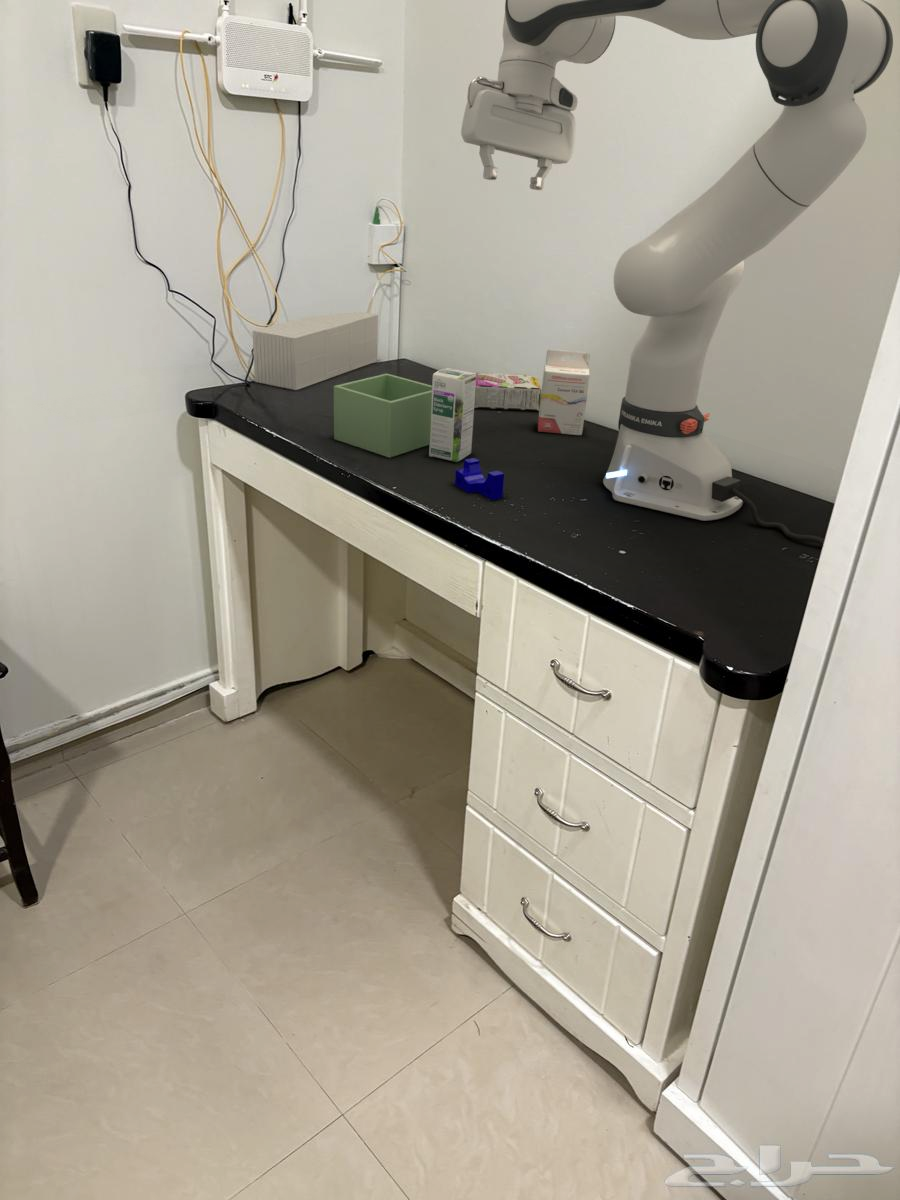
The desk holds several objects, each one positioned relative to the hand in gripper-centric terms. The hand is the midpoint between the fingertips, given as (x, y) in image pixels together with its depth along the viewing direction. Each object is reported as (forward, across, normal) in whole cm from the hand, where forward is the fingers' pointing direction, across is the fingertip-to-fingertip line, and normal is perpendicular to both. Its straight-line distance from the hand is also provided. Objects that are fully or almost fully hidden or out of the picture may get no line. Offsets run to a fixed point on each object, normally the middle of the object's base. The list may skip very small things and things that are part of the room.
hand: (513, 184), depth 150 cm
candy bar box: (+35, +14, +30) cm, 48 cm away
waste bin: (+44, -11, +14) cm, 47 cm away
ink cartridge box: (+40, +22, +6) cm, 46 cm away
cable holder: (+47, -10, -14) cm, 50 cm away
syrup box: (+44, -5, +2) cm, 45 cm away
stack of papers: (+31, 0, +57) cm, 65 cm away
